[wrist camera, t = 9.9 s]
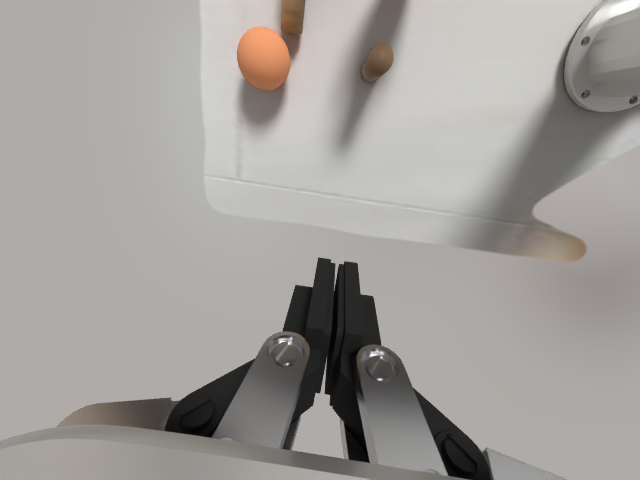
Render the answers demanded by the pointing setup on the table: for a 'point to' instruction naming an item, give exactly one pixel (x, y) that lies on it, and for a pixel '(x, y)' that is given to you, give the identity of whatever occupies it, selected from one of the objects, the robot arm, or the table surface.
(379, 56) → the walnut pin
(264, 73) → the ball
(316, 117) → the table surface
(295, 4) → the oak pin
